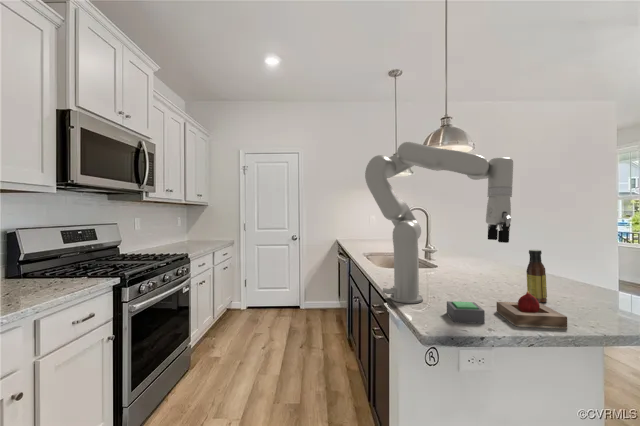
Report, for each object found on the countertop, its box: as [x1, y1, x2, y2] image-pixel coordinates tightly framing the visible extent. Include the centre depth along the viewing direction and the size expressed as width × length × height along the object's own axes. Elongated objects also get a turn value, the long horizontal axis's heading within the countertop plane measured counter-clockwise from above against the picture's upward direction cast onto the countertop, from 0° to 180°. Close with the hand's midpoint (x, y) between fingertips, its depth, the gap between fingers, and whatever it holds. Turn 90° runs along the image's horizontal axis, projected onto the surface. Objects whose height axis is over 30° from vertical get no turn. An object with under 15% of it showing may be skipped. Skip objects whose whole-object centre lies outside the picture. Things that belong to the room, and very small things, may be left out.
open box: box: [496, 301, 568, 330], centre depth 99 cm, size 14×14×4 cm
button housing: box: [446, 300, 486, 324], centre depth 100 cm, size 9×9×4 cm
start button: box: [451, 300, 478, 309], centre depth 100 cm, size 6×6×3 cm
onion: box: [517, 290, 540, 313], centre depth 99 cm, size 6×6×8 cm
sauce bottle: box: [526, 249, 548, 303], centre depth 119 cm, size 6×6×20 cm
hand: (497, 241), depth 109 cm, fingers open, 9 cm apart
